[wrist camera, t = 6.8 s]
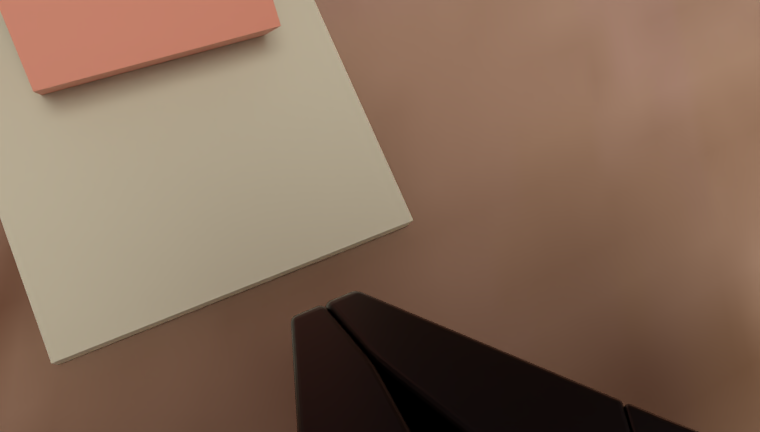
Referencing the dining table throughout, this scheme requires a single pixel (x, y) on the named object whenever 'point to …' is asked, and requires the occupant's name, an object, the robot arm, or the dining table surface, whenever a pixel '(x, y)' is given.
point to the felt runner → (185, 180)
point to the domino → (123, 34)
